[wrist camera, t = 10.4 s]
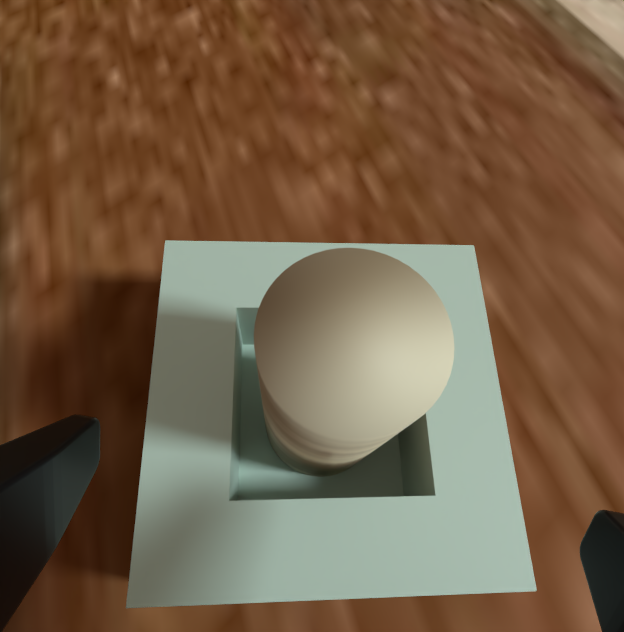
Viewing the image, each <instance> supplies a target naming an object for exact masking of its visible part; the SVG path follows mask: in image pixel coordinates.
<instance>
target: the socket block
mask: <svg viewBox="0 0 624 632" xmlns="http://www.w3.org/2000/svg"><path fill="white" fill-rule="evenodd" d="M336 248H361V249H367V250H373V251H376V252H380V253H383V254H386V255H388V256H391V257H393V258H395V259H398V260H399V261H401V262H403V263H404V264H406V265H408V266H409V267H411V268H412V269H413V270H415V271H416V272H417V273H419V274H420V275H421V276H422V277H423V278H424V279H425V280H426V281H427V282H428V283H429V284H430V286H431V287H432V288H433V289H434V290H435V292H436V293H437V295H438V296H439V298H440V299H441V301H442V303H443V305H444V307H445V309H446V311H447V313H448V316H449V319H450V322H451V325H452V330H453V335H454V361H453V366H452V371H451V374H450V377H449V380H448V382H447V385H446V387H445V388H444V390H443V392H442V394H441V396H440V397H439V398H438V400H437V401H436V402H435V404H434V405H433V406H432V407H431V408H430V409H429V410H428V411H427V412H426V413H425V414H424V415H423V416H422V417H420V418H419V419H417V420H416V421H415V422H413V423H412V424H411V425H409V426H408V427H406V428H405V429H404V430H402V431H401V432H399V433H398V434H397V435H395V436H394V437H392V438H391V439H390V440H388V441H387V442H385V443H384V444H383V445H381V446H380V447H378V448H377V449H376V450H374V451H373V452H371V453H370V454H369V455H367V456H366V457H364V458H363V459H362V460H360V461H359V462H357V463H356V464H355V465H353V466H352V467H350V468H349V469H347V470H345V471H343V472H341V473H339V474H336V475H331V476H324V477H317V476H310V475H305V474H302V473H300V472H298V471H296V470H294V469H292V468H290V467H289V466H288V465H286V464H285V463H284V462H283V461H282V460H281V459H280V458H279V457H278V456H277V454H276V453H275V451H274V450H273V448H272V446H271V444H270V442H269V439H268V436H267V431H266V426H265V419H264V412H263V405H262V398H261V391H260V384H259V377H258V370H257V363H256V356H255V349H254V327H255V320H256V316H257V312H258V309H259V306H260V304H261V301H262V299H263V297H264V295H265V294H266V292H267V290H268V288H269V287H270V286H271V284H272V283H273V282H274V281H275V279H276V278H277V277H278V276H279V275H280V274H281V273H282V272H283V271H284V270H286V269H287V268H288V267H290V266H291V265H292V264H294V263H296V262H297V261H299V260H301V259H303V258H304V257H307V256H309V255H312V254H314V253H317V252H321V251H324V250H329V249H336ZM526 591H537V590H536V584H535V579H534V573H533V568H532V562H531V557H530V551H529V546H528V540H527V535H526V529H525V524H524V518H523V513H522V507H521V502H520V496H519V491H518V485H517V480H516V474H515V469H514V463H513V458H512V452H511V447H510V441H509V436H508V430H507V425H506V419H505V414H504V408H503V403H502V397H501V392H500V386H499V380H498V375H497V369H496V364H495V358H494V353H493V347H492V342H491V336H490V331H489V325H488V320H487V314H486V309H485V303H484V298H483V292H482V287H481V281H480V276H479V270H478V265H477V259H476V254H475V248H474V245H418V244H353V243H289V242H225V241H165V248H164V258H163V267H162V276H161V286H160V295H159V304H158V314H157V323H156V332H155V342H154V351H153V361H152V370H151V379H150V389H149V398H148V407H147V417H146V426H145V435H144V445H143V454H142V463H141V473H140V482H139V491H138V501H137V510H136V519H135V529H134V538H133V547H132V557H131V566H130V575H129V585H128V594H127V603H126V608H141V607H165V606H189V605H213V604H237V603H261V602H285V601H309V600H333V599H357V598H382V597H406V596H430V595H454V594H478V593H502V592H526Z"/></svg>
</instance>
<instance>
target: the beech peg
mask: <svg viewBox="0 0 624 632" xmlns="http://www.w3.org/2000/svg"><path fill="white" fill-rule="evenodd" d="M254 349H255V356H256V363H257V370H258V377H259V384H260V391H261V398H262V405H263V412H264V419H265V426H266V431H267V436H268V439H269V442H270V444H271V446H272V448H273V450H274V451H275V453H276V454H277V456H278V457H279V458H280V459H281V460H282V461H283V462H284V463H285V464H286V465H288V466H289V467H290V468H292V469H294V470H296V471H298V472H300V473H302V474H305V475H310V476H317V477H324V476H331V475H336V474H339V473H341V472H343V471H345V470H347V469H349V468H350V467H352V466H353V465H355V464H356V463H357V462H359V461H360V460H362V459H363V458H364V457H366V456H367V455H369V454H370V453H371V452H373V451H374V450H376V449H377V448H378V447H380V446H381V445H383V444H384V443H385V442H387V441H388V440H390V439H391V438H392V437H394V436H395V435H397V434H398V433H399V432H401V431H402V430H404V429H405V428H406V427H408V426H409V425H411V424H412V423H413V422H415V421H416V420H417V419H419V418H420V417H422V416H423V415H424V414H425V413H426V412H427V411H428V410H429V409H430V408H431V407H432V406H433V405H434V404H435V402H436V401H437V400H438V398H439V397H440V396H441V394H442V392H443V390H444V388H445V387H446V385H447V382H448V380H449V377H450V374H451V371H452V366H453V361H454V335H453V330H452V325H451V322H450V319H449V316H448V313H447V311H446V309H445V307H444V305H443V303H442V301H441V299H440V298H439V296H438V295H437V293H436V292H435V290H434V289H433V288H432V287H431V286H430V284H429V283H428V282H427V281H426V280H425V279H424V278H423V277H422V276H421V275H420V274H419V273H417V272H416V271H415V270H413V269H412V268H411V267H409V266H408V265H406V264H404V263H403V262H401V261H399V260H398V259H395V258H393V257H391V256H388V255H386V254H383V253H380V252H376V251H373V250H367V249H361V248H336V249H329V250H324V251H321V252H317V253H314V254H312V255H309V256H307V257H304V258H303V259H301V260H299V261H297V262H296V263H294V264H292V265H291V266H290V267H288V268H287V269H286V270H284V271H283V272H282V273H281V274H280V275H279V276H278V277H277V278H276V279H275V281H274V282H273V283H272V284H271V286H270V287H269V288H268V290H267V292H266V294H265V295H264V297H263V299H262V301H261V304H260V306H259V309H258V312H257V316H256V320H255V327H254Z"/></svg>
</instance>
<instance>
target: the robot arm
mask: <svg viewBox="0 0 624 632" xmlns="http://www.w3.org/2000/svg"><path fill="white" fill-rule="evenodd" d="M99 459H100V423H99V420H98V419H97V418H94V417H89V416H83V415H72V416H70V417H67V418H65V419H62V420H60V421H58V422H55V423H53V424H50V425H48V426H45V427H43V428H41V429H38V430H36V431H33V432H31V433H29V434H26V435H24V436H21V437H19V438H17V439H14V440H12V441H9V442H7V443H4V444H2V445H0V632H2V631H3V629H4V628H5V626H6V624H7V623H8V621H9V620H10V618H11V617H12V615H13V614H14V612H15V611H16V609H17V608H18V606H19V605H20V603H21V601H22V600H23V598H24V597H25V595H26V594H27V592H28V591H29V589H30V588H31V586H32V585H33V583H34V581H35V580H36V578H37V577H38V575H39V574H40V572H41V571H42V569H43V568H44V566H45V565H46V563H47V561H48V560H49V558H50V557H51V555H52V553H53V552H54V550H55V548H56V547H57V545H58V543H59V541H60V539H61V537H62V536H63V534H64V532H65V530H66V528H67V526H68V524H69V522H70V520H71V518H72V516H73V514H74V512H75V510H76V508H77V506H78V504H79V502H80V501H81V499H82V497H83V495H84V493H85V491H86V489H87V487H88V485H89V483H90V481H91V479H92V477H93V475H94V473H95V471H96V469H97V466H98V463H99ZM580 557H581V561H582V565H583V568H584V572H585V575H586V578H587V582H588V585H589V589H590V592H591V595H592V599H593V602H594V606H595V609H596V612H597V616H598V619H599V623H600V626H601V629H602V632H624V514H623V513H619V512H613V511H607V510H600V511H598V512H597V513H596V514H595V516H594V517H593V520H592V522H591V524H590V526H589V528H588V530H587V532H586V534H585V536H584V538H583V540H582V542H581V545H580Z"/></svg>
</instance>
